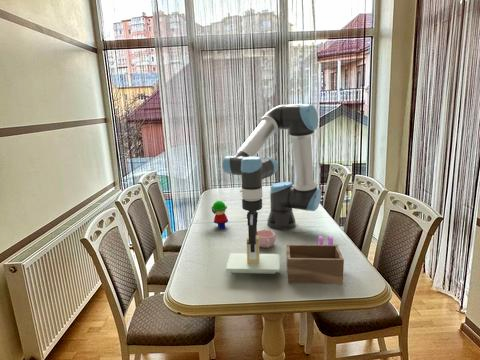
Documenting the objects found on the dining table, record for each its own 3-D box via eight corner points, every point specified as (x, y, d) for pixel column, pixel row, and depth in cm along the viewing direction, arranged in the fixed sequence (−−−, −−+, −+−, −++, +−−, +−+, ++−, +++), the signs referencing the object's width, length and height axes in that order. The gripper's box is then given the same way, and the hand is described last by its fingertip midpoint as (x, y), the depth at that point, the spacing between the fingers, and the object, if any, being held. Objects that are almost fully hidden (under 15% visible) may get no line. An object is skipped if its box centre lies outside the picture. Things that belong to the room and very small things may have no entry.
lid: (230, 258, 140) (229, 230, 137) (279, 259, 137) (278, 230, 135) (226, 274, 127) (224, 243, 124) (279, 275, 125) (279, 244, 122)
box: (286, 265, 138) (286, 244, 136) (336, 266, 136) (337, 244, 134) (287, 282, 125) (287, 259, 123) (342, 283, 123) (343, 259, 121)
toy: (228, 230, 177) (227, 203, 174) (212, 231, 177) (210, 203, 174) (228, 224, 186) (227, 198, 183) (212, 225, 186) (211, 199, 183)
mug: (252, 242, 162) (252, 230, 161) (272, 240, 164) (272, 228, 162) (258, 252, 151) (257, 240, 149) (279, 250, 152) (279, 238, 151)
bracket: (318, 249, 152) (318, 235, 151) (330, 249, 152) (331, 234, 150) (324, 263, 140) (324, 247, 138) (337, 262, 139) (338, 247, 138)
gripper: (244, 192, 135) (245, 246, 140) (239, 205, 118) (241, 266, 123) (262, 192, 134) (263, 246, 139) (261, 205, 117) (262, 266, 122)
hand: (253, 255), depth 131 cm, fingers closed on lid, 4 cm apart
